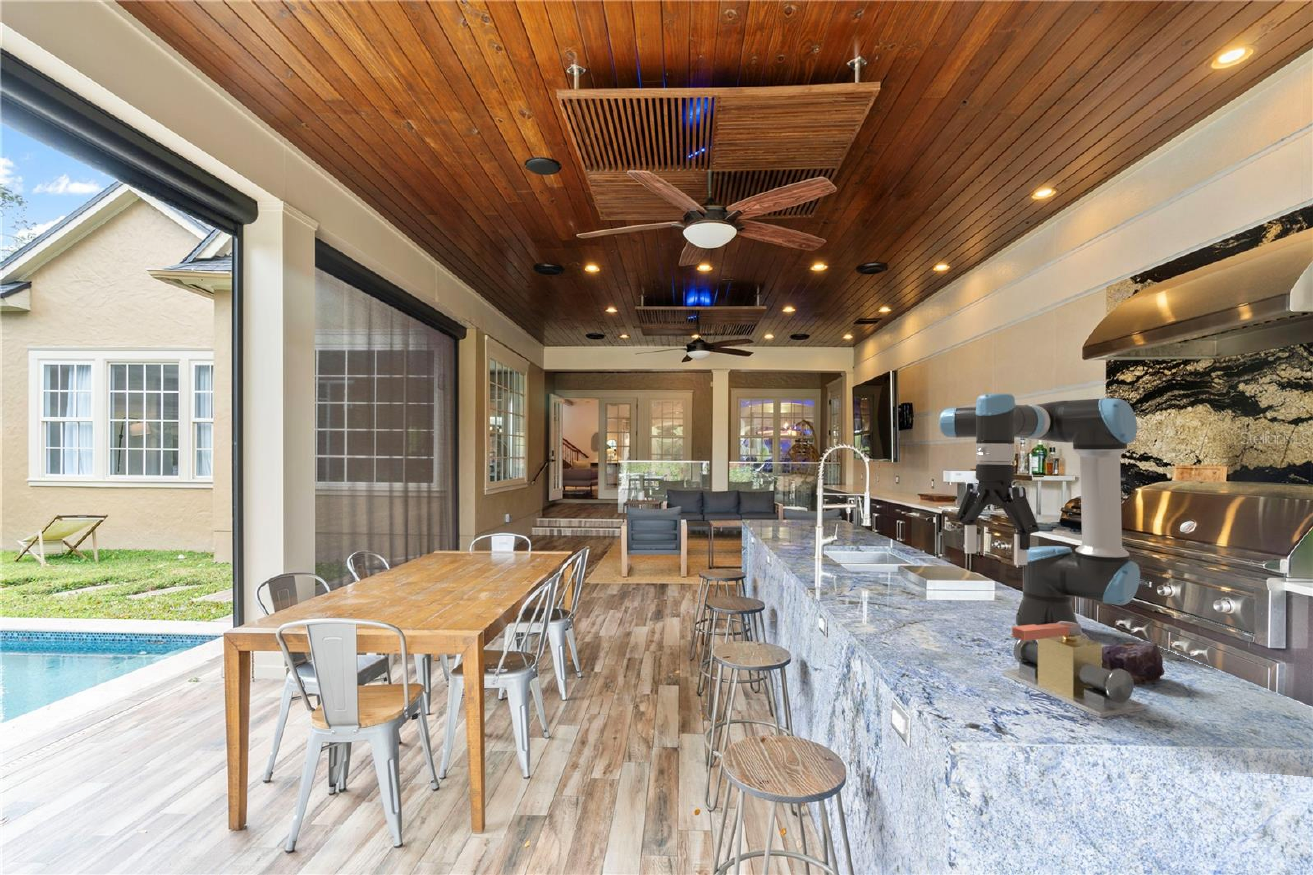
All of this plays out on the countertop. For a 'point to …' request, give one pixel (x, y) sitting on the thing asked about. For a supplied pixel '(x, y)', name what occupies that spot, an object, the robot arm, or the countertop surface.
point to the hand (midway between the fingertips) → (994, 558)
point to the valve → (1074, 675)
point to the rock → (1135, 660)
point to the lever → (1046, 630)
